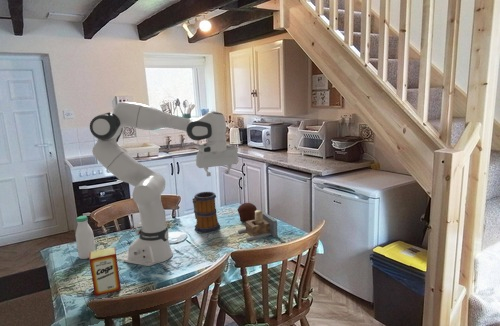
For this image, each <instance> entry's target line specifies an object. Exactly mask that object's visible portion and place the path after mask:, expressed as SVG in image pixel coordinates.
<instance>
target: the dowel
mask: <svg viewBox="0 0 500 326" xmlns="http://www.w3.org/2000/svg"><path fill="white" fill-rule="evenodd" d="M261 210H262V209H257V210H256V211H255V225H259V224H263V217H262V211H263V210H262V211H261Z"/></svg>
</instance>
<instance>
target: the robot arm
mask: <svg viewBox="0 0 500 326" xmlns="http://www.w3.org/2000/svg"><path fill="white" fill-rule="evenodd" d="M112 111H113V112H111V111H109V112H106V113H105V112H104V113H102V114H98V115H96V116H94V117H93V118H92V119H91V120H90V123H89V130H90V132H91V135H92V136H93V137H94V138H96V139H97V141H96V143H95V144H94V145H93V147H92V149H91V151H92V155H93V156H94V158H95V159H96V161H98V162H99V163H100V164H101V165H102V166H103V167H104V168H105V169H106V170H107V171H108V172H109V173H111V174H112V175H113V176H115V177H116V179H118V180H119V181H120V182H123V183H127V184H129V185H131V186H133V190H132V195H131V196H132V200H133V202H134V203H135V204H136V206H137V208H138V212H139V216H140V223H141V228H140V229H138V232H137V233H136V235H137V236H138V235H139V236H138V237H137V238H135V240H134V241H133V242H131V243H130V245H129V246H128V251H127V252H126V254H125V255H124V257H123V262H124V263H128V264H129V263H130V264H134V265H135V264H136V265H139V266H145V267H150V266H154V265H156V264H159V263H164V262H165V261H167V260H170V259H171V258H172V256H173V255H174V254H173V250H172V247H171V245H170V240H169V230H168V228H169V227H168V225H167V218H166V210H165V209H164V206H163V203H162V194H163V192H164V191H165V189H166V179H165V177H164V176H163V174H160V173H157V172H155V171H153V170H152V169H150V168H149V167H147V166H146V165H144V164H142V163H140V162H139V161H137V159H135V158H134V157H133V156H131V155H130V154H129V153H128V152H127V151H126V150H124V149H123V148H122V147H121V146H120V145H119V144H118V142H119V140H120V137H121V136H122V134H123V129H124V128H125V127H129V128H134V129H138V130H139V129H140V130H143V131H154V130H156V131H157V130H159V129H162V128H163V129H164V128H166V129H167V128H169V129H174V130H178V131H183V132H186V134H187V136H188V138H189V139H190V140H193V141H198V142H199V141H202V140H205V139H206V142H205V143H203V144H201V145H198V146H197V151H198V152H196V153H197V154H196V158H195V161H196V162H195V163H196V167H197V168H199V169H204V171H205V173H206V177H211V176H212V174H211V173H212V172H210V171H208V170H209V168H212V167H214V168H215V167H220V166H221V167H222V166H227V168H226V169H225V170H224V171H225V175H230V171H231V168H232V166H233V165H237V164H238V163H239V154H238V152H239V149H238V146H237V145H235V144H232V145H227V137H226V133H227V132H226V131H227V124H226V122H227V121H226V118H225V115H224V113H221V112H218V111H212V110H211V111H208V112H207V113H205V114H204V115H201V116H195V117H184V116H179V115H173V114H169V113H167V112H165V111H162V110H160V109H157V108H155V107H153V106H150V105H147V104H143V103H137V102H133V101H132V102H131V101H119V102H118V103H116V105H114V109H113V110H112Z"/></svg>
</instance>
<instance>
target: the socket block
mask: <svg viewBox="0 0 500 326" xmlns="http://www.w3.org/2000/svg"><path fill="white" fill-rule="evenodd" d="M245 229H246V232H245V233H247V234H248V236H249V237H251V236H256V235H260V234H264V233H268V232H270V223H268V222H267V221H266V220H264V219H263V224H259V225H255V220H250V221H246V222H245Z"/></svg>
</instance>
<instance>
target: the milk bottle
mask: <svg viewBox="0 0 500 326" xmlns="http://www.w3.org/2000/svg"><path fill="white" fill-rule="evenodd" d="M76 222H77V227H76V230H75V241H76V242H75V243H76V247H77V249H76V250H77V254H78V258H79V259H80V260H87V259H88V260H89V253H90V252H93V251H97V250H96V243H95V237H94V236H95V235H94V231H93V229H92V228H91V226H90V224H89V223H88V216H87V215H80V216H78V217H76Z"/></svg>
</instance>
